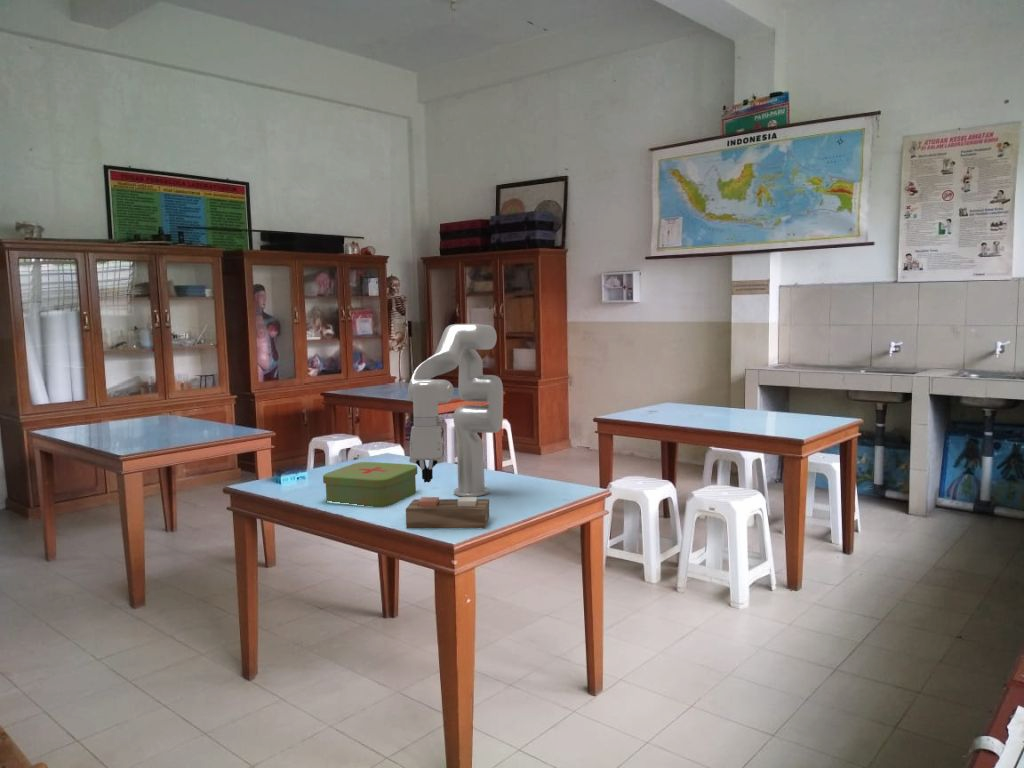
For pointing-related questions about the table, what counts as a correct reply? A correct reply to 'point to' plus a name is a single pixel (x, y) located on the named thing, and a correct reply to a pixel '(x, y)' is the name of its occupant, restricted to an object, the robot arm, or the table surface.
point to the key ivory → (467, 501)
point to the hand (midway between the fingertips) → (427, 481)
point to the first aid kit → (371, 483)
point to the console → (448, 515)
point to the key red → (428, 502)
